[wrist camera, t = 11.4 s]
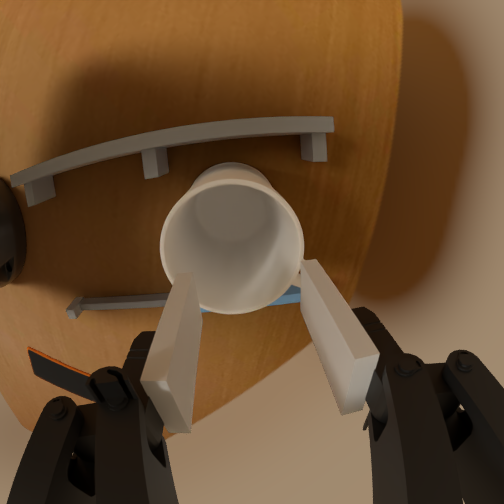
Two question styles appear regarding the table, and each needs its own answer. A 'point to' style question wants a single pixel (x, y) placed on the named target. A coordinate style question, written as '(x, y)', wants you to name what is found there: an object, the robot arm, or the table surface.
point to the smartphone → (59, 374)
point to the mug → (233, 240)
